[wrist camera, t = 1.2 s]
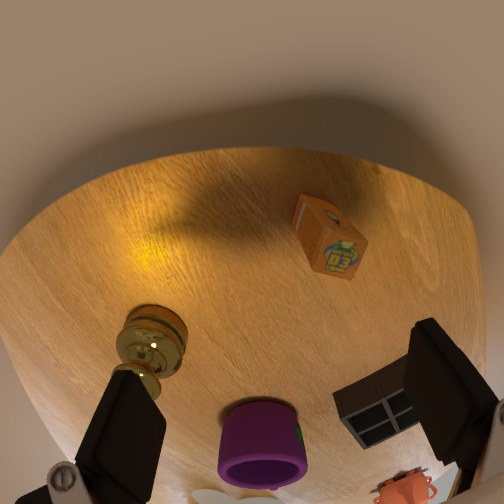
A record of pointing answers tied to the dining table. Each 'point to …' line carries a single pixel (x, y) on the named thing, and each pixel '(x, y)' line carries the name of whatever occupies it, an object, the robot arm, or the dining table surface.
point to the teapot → (407, 490)
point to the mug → (261, 447)
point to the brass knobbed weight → (152, 346)
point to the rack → (376, 406)
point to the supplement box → (328, 238)
